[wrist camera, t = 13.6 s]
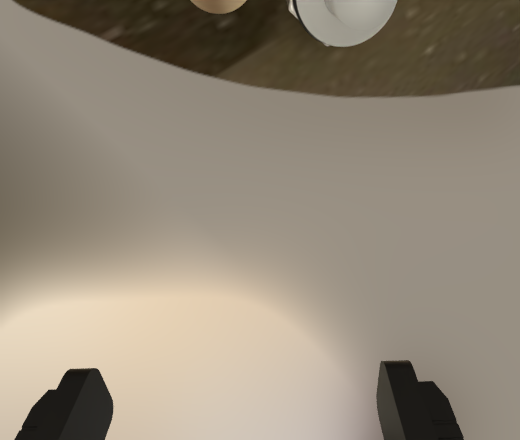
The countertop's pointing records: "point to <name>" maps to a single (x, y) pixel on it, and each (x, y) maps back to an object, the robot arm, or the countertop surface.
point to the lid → (344, 19)
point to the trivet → (218, 5)
